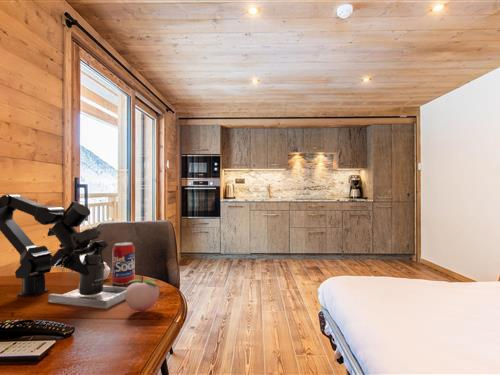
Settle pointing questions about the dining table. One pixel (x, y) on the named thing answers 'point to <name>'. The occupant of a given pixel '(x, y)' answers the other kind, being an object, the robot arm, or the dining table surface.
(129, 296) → the decorative fruit
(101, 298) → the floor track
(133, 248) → the soda can
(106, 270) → the small white vase
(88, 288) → the supplement bottle
